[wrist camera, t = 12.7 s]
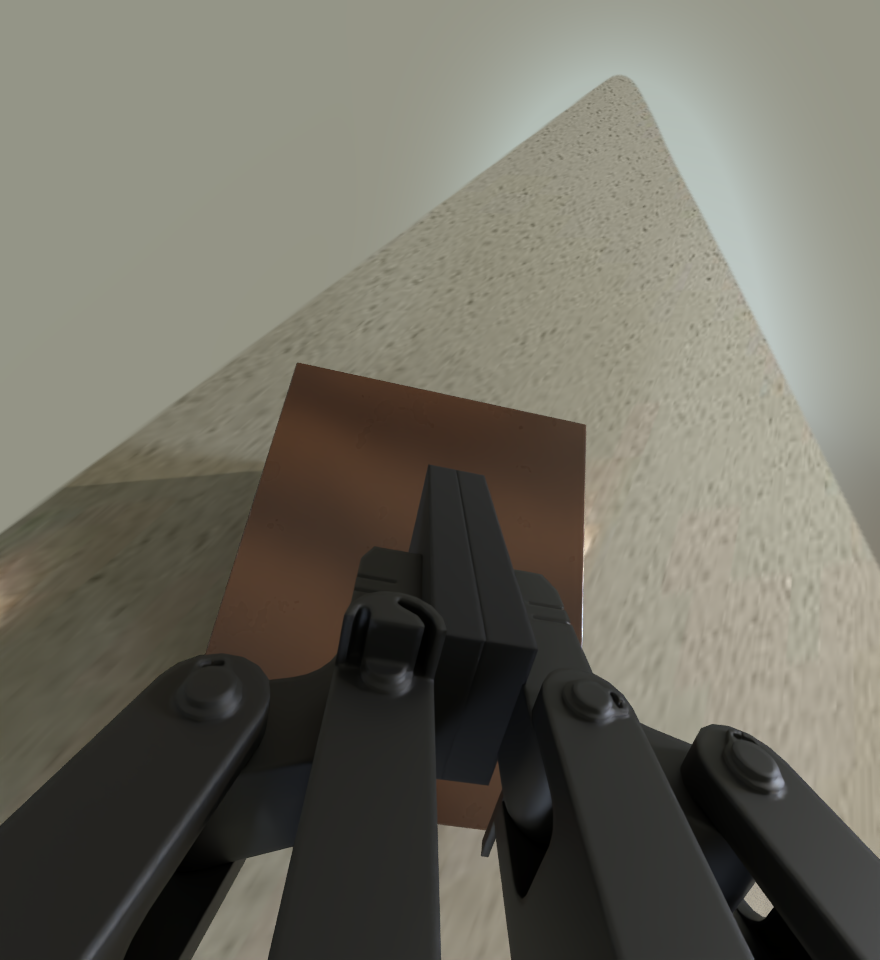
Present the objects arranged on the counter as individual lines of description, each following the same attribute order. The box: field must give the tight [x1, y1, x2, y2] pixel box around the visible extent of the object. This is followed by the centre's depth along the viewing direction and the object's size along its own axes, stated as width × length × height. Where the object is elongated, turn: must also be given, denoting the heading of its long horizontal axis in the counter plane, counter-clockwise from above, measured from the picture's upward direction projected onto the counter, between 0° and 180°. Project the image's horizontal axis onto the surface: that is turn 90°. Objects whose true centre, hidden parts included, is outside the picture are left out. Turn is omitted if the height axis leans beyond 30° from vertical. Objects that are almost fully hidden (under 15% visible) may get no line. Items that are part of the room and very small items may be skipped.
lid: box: [205, 363, 586, 830], centre depth 20 cm, size 16×14×1 cm
